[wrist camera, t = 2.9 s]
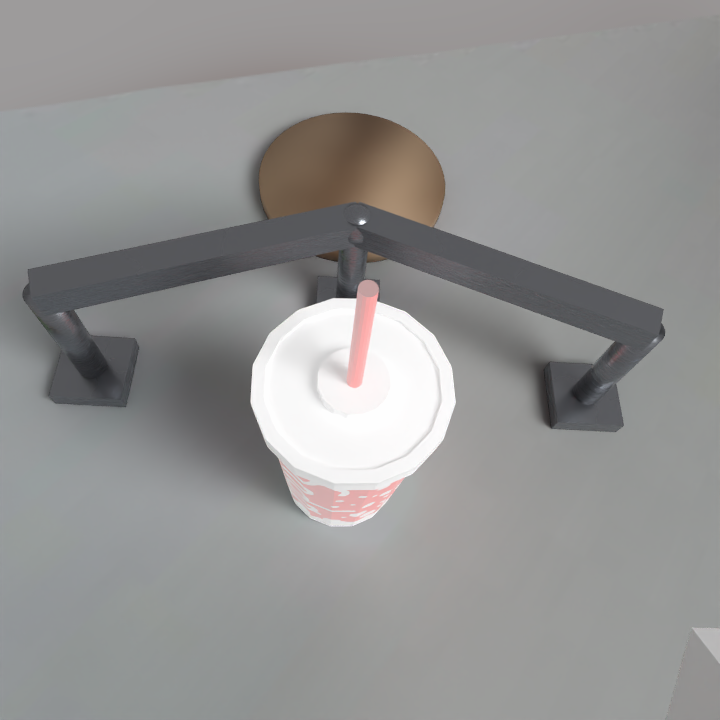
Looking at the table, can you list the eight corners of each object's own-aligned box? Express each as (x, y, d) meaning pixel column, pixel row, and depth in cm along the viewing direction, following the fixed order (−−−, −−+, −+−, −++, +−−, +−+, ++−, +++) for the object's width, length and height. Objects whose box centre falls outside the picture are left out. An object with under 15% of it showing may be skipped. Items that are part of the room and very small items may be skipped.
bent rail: (592, 302, 31) (668, 202, 24) (615, 432, 28) (710, 357, 21) (92, 271, 30) (30, 156, 23) (55, 403, 26) (-29, 314, 20)
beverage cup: (241, 453, 26) (178, 253, 14) (357, 382, 28) (395, 150, 16) (320, 577, 24) (331, 474, 12) (440, 491, 26) (560, 323, 14)
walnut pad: (439, 130, 36) (441, 119, 35) (446, 269, 31) (449, 259, 31) (269, 117, 35) (268, 105, 35) (250, 256, 31) (249, 246, 30)
